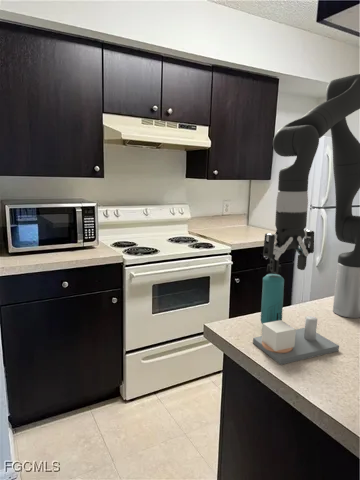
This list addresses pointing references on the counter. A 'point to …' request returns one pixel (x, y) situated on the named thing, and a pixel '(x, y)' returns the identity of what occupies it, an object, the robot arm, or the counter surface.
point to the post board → (303, 344)
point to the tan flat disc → (276, 351)
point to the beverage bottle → (272, 297)
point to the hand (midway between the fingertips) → (287, 271)
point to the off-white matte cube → (278, 335)
